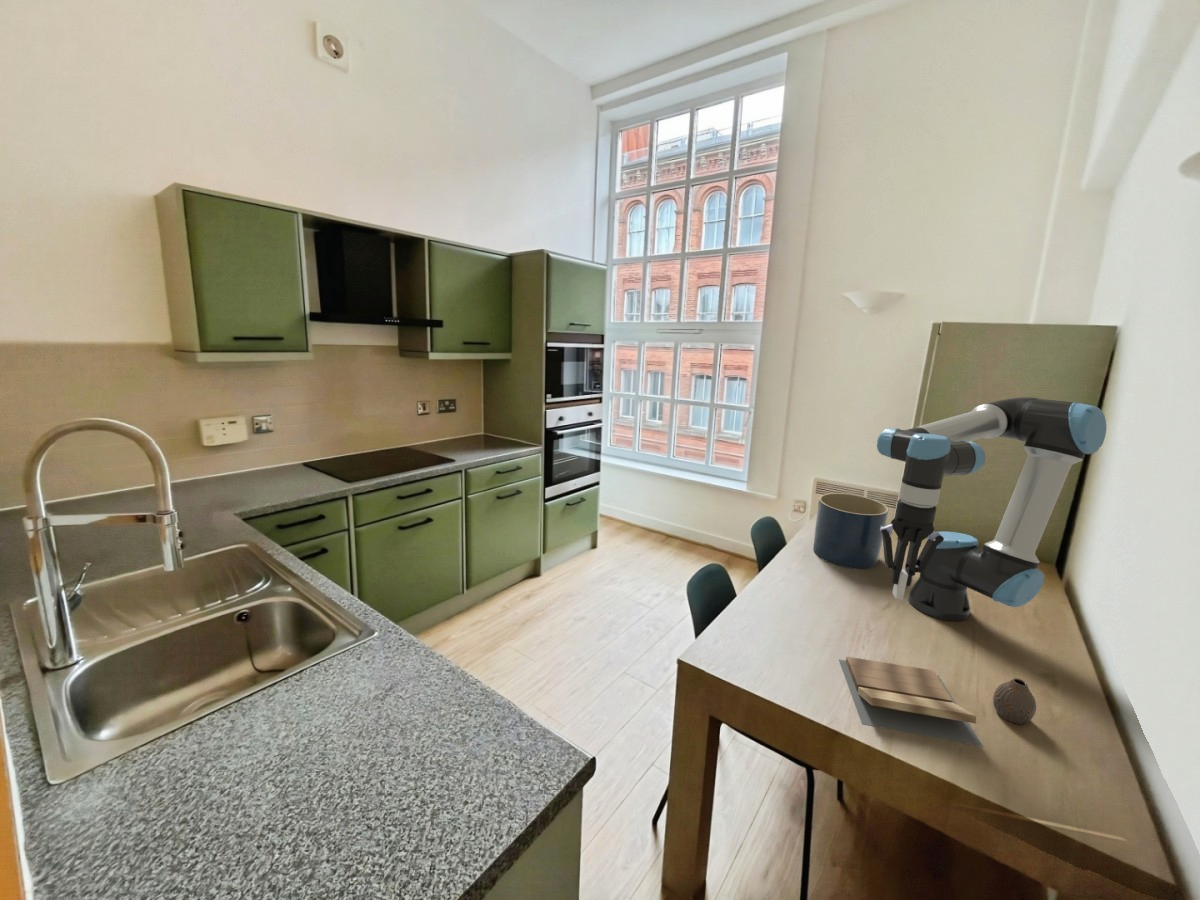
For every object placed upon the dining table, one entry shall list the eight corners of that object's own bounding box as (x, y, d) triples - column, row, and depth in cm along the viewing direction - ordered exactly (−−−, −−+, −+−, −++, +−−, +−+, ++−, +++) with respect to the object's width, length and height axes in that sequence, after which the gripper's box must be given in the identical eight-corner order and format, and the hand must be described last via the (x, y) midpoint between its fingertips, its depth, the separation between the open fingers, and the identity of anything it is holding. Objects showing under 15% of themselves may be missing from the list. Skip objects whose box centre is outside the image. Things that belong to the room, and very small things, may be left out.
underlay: (938, 677, 116) (938, 675, 116) (983, 748, 97) (983, 746, 96) (838, 660, 121) (838, 659, 121) (861, 725, 101) (862, 724, 101)
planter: (805, 540, 191) (811, 491, 186) (865, 545, 188) (873, 495, 184) (821, 566, 170) (830, 512, 165) (889, 572, 167) (900, 517, 162)
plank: (953, 710, 106) (953, 702, 106) (976, 723, 97) (976, 715, 97) (857, 693, 110) (858, 686, 110) (871, 705, 101) (871, 697, 101)
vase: (981, 705, 108) (990, 671, 106) (1010, 704, 108) (1020, 670, 106) (1009, 730, 101) (1019, 694, 99) (1040, 729, 102) (1051, 693, 100)
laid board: (932, 675, 116) (933, 670, 116) (951, 706, 107) (952, 700, 106) (845, 661, 120) (846, 656, 120) (856, 690, 111) (857, 684, 110)
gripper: (943, 500, 113) (922, 593, 118) (880, 493, 116) (863, 584, 121) (957, 511, 105) (934, 609, 111) (890, 504, 109) (871, 599, 114)
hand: (897, 596), depth 116 cm, fingers closed
